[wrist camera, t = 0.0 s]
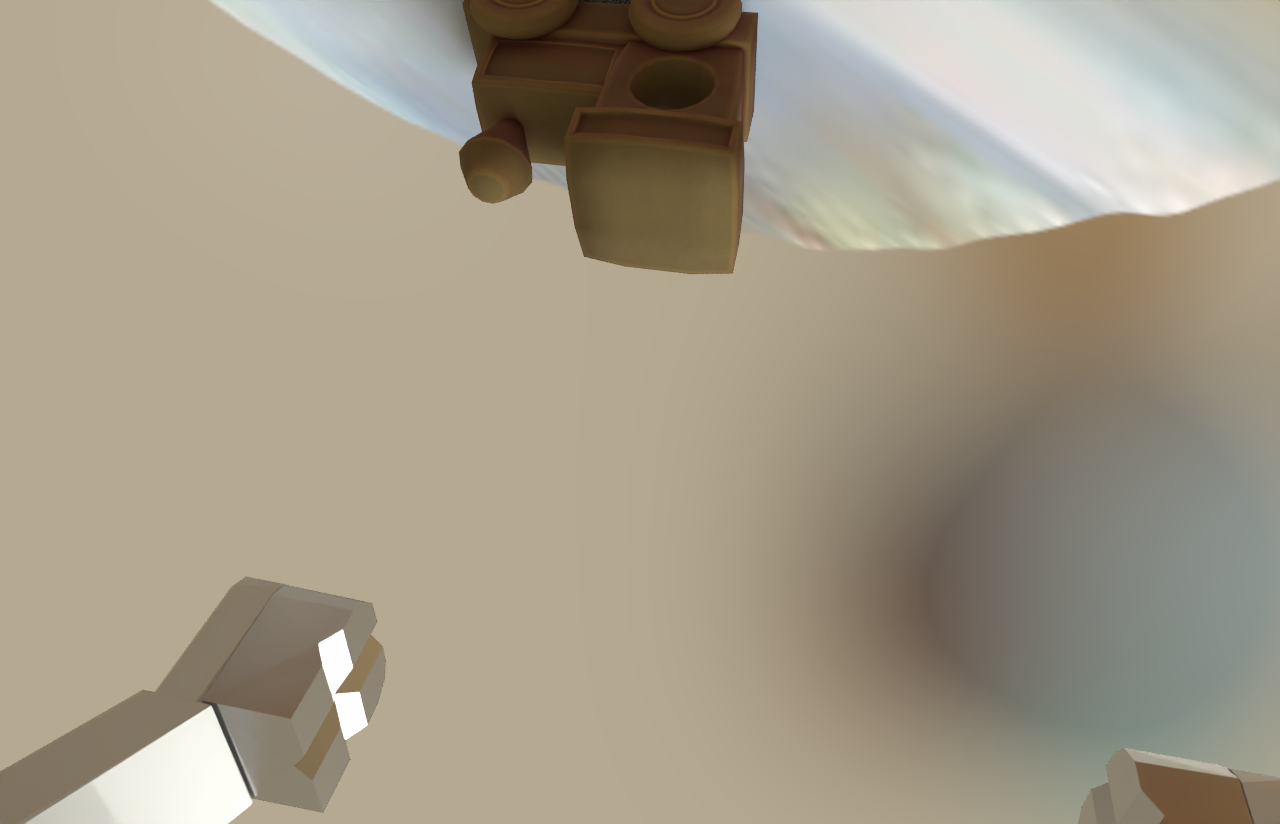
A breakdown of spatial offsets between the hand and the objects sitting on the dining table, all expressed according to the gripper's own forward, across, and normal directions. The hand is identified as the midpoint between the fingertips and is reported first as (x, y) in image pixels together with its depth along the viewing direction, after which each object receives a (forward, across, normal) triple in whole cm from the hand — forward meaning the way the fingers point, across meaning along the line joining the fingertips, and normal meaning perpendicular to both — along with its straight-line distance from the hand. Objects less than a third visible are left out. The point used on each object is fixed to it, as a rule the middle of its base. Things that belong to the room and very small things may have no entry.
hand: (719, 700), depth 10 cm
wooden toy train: (+59, +14, +11) cm, 62 cm away
